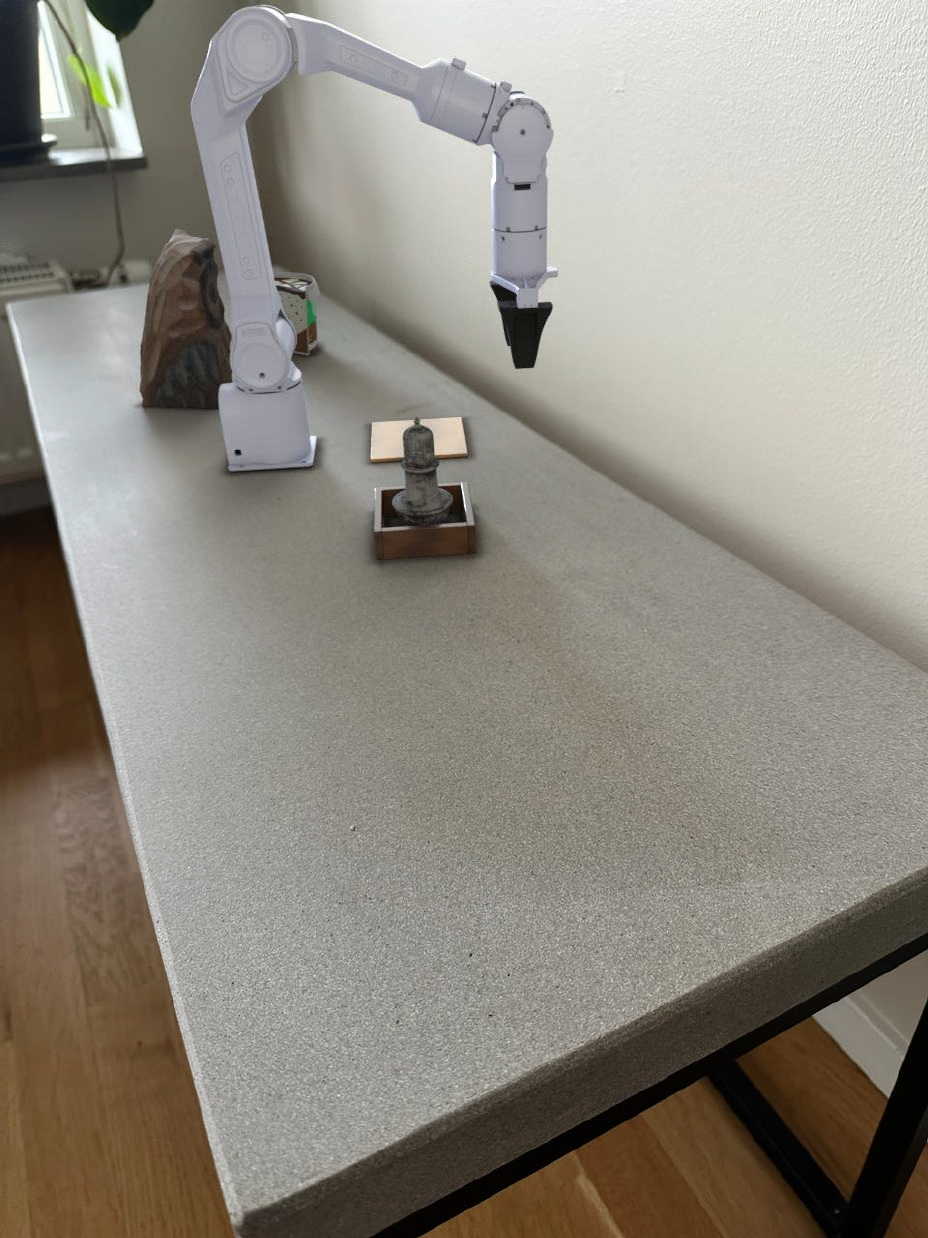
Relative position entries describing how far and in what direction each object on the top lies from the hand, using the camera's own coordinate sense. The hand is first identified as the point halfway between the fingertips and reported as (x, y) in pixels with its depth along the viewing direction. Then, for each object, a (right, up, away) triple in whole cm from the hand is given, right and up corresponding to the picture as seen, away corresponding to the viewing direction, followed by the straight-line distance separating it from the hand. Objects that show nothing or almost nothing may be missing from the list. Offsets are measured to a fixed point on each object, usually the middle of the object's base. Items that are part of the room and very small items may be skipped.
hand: (520, 355), depth 107 cm
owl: (-43, +1, +23) cm, 48 cm away
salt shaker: (-10, -21, -12) cm, 26 cm away
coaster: (-12, -8, +7) cm, 16 cm away
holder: (-10, -21, -12) cm, 26 cm away
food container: (-31, +12, +39) cm, 51 cm away
